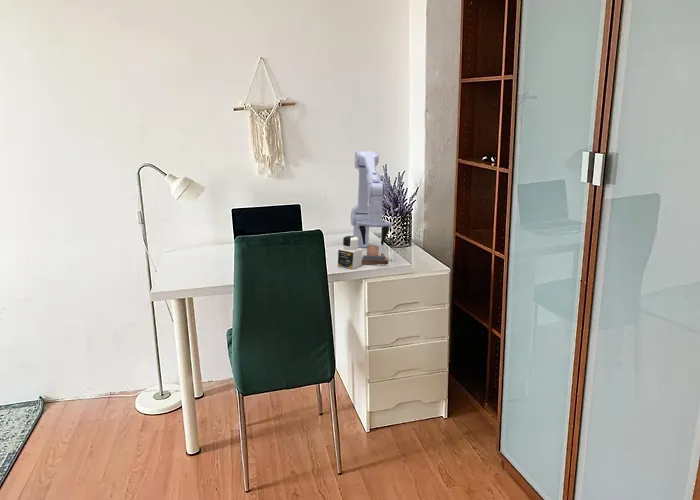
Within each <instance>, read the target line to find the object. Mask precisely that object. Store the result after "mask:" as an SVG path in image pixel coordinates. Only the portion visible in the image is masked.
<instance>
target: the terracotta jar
mask: <svg viewBox="0 0 700 500" xmlns="http://www.w3.org/2000/svg"><path fill="white" fill-rule="evenodd" d="M379 251H380V246H378V245H375V244H373V245H372V244H369V245H368V246H367V247H366V255H370V256H380V255H379V254H380V253H379Z"/></svg>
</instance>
